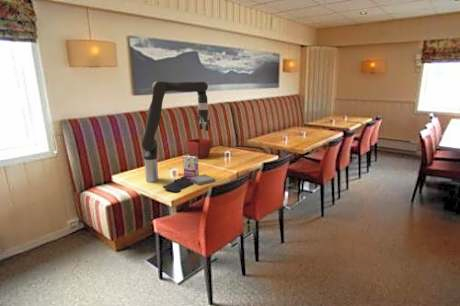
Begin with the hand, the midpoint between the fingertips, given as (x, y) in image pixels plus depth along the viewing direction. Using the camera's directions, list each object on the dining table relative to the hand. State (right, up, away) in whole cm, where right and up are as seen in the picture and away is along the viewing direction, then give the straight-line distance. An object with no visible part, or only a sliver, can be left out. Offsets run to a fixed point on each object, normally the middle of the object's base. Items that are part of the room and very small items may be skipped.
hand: (203, 130), depth 227 cm
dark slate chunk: (-17, -42, -16) cm, 48 cm away
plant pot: (-10, -22, +66) cm, 70 cm away
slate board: (-1, -39, -6) cm, 39 cm away
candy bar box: (-10, -37, +4) cm, 38 cm away
